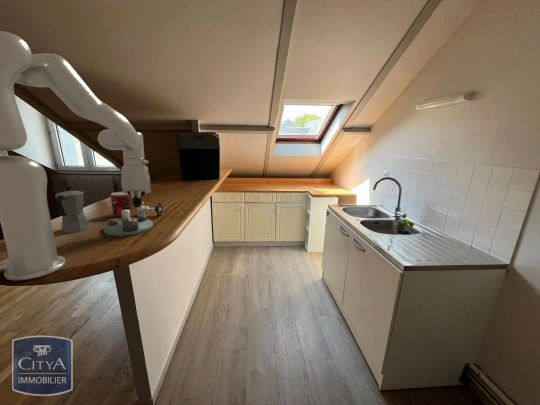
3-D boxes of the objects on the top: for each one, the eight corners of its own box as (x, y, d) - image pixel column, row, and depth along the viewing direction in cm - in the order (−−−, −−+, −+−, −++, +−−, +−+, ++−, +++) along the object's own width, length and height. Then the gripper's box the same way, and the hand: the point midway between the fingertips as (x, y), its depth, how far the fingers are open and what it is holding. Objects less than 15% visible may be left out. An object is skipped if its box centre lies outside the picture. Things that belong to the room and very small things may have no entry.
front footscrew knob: (139, 229, 97) (138, 215, 96) (123, 232, 94) (122, 218, 92) (133, 221, 107) (132, 208, 105) (119, 223, 103) (117, 210, 102)
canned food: (114, 213, 124) (111, 192, 121) (132, 212, 127) (130, 191, 124) (112, 217, 117) (109, 195, 114) (131, 216, 120) (128, 194, 118)
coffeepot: (70, 224, 106) (63, 183, 102) (95, 223, 108) (89, 183, 104) (49, 237, 92) (40, 190, 87) (78, 236, 94) (70, 190, 90)
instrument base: (104, 239, 91) (103, 230, 90) (103, 225, 105) (102, 218, 105) (156, 231, 101) (155, 223, 100) (149, 219, 115) (148, 212, 114)
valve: (133, 217, 119) (158, 217, 119) (132, 204, 117) (157, 204, 118) (140, 213, 125) (163, 213, 126) (139, 200, 124) (162, 201, 124)
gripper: (156, 162, 105) (158, 204, 109) (117, 161, 102) (121, 204, 105) (151, 163, 98) (154, 208, 101) (110, 162, 94) (114, 209, 98)
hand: (137, 206), depth 103 cm, fingers closed
